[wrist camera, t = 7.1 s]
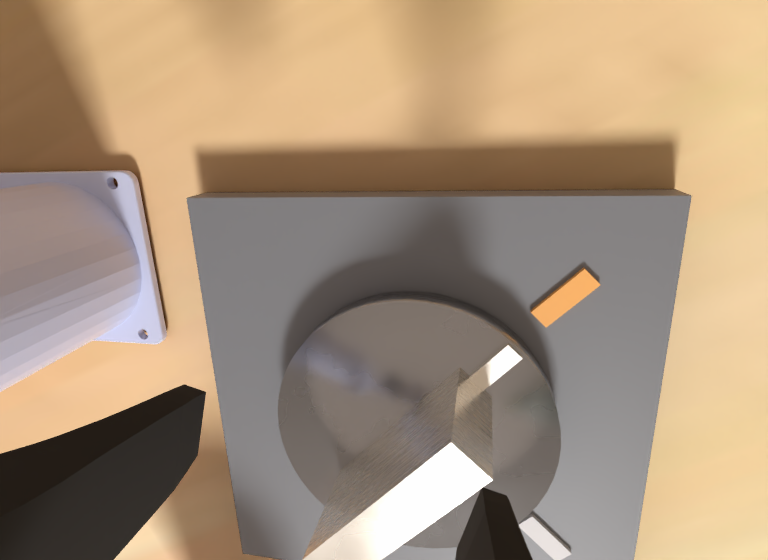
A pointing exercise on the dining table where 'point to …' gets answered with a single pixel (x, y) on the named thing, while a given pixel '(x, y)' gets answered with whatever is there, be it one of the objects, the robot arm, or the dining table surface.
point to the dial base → (466, 283)
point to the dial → (414, 423)
